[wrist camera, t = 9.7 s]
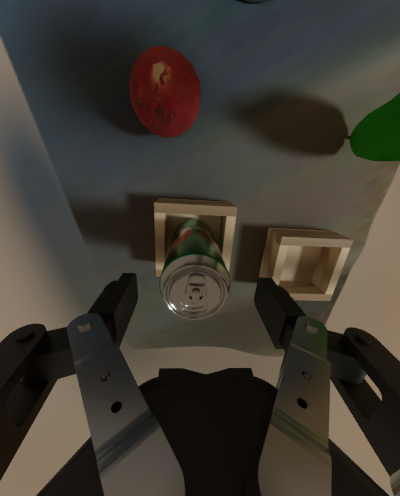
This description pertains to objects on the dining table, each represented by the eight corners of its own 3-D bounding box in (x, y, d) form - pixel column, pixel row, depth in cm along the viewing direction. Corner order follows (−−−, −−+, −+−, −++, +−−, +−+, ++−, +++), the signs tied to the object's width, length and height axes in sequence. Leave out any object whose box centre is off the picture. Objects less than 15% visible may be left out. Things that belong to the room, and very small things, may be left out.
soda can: (172, 255, 24) (156, 323, 13) (173, 216, 22) (156, 257, 11) (211, 257, 25) (228, 326, 13) (215, 219, 23) (239, 262, 12)
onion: (189, 150, 21) (189, 138, 13) (136, 132, 20) (105, 107, 12) (205, 88, 19) (216, 31, 11) (147, 64, 18) (118, -14, 10)
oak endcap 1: (159, 197, 22) (153, 202, 19) (229, 201, 23) (237, 207, 19) (160, 262, 25) (156, 276, 22) (222, 264, 26) (227, 278, 22)
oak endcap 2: (268, 227, 24) (282, 236, 21) (330, 230, 25) (353, 239, 21) (257, 283, 27) (267, 299, 24) (312, 284, 28) (330, 300, 25)
